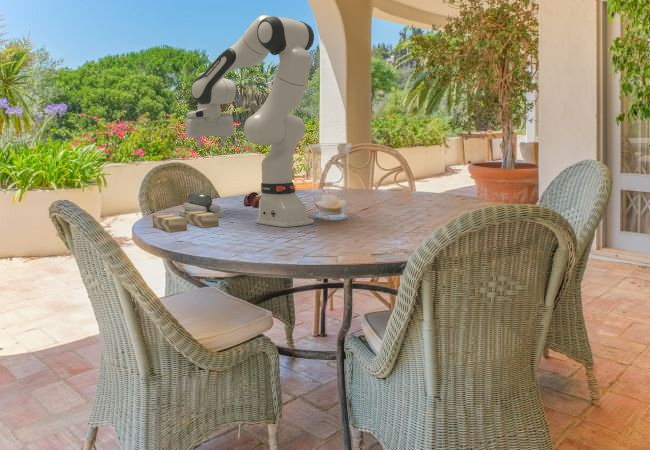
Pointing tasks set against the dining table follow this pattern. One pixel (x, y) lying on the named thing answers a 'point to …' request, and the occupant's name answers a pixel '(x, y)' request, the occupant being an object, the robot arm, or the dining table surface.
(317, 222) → the dining table surface
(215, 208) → the plate with parallel rods
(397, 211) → the dining table surface
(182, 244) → the dining table surface
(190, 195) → the axle
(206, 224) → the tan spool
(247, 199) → the teeth model
